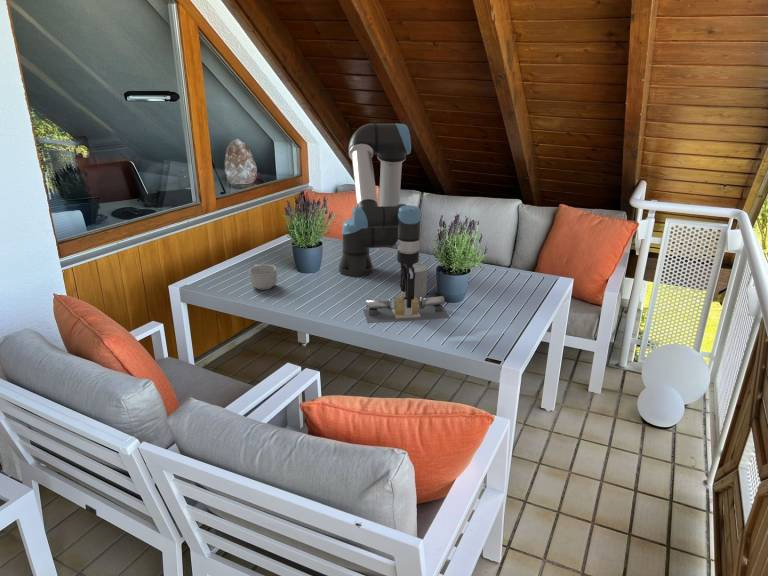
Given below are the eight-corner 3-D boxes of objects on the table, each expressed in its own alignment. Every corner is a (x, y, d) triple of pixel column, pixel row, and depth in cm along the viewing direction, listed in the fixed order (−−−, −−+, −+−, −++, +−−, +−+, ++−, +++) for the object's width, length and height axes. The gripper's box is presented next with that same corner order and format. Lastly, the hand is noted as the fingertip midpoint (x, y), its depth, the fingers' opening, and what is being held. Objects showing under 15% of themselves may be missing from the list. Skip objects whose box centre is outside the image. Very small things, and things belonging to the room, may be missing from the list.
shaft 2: (439, 306, 216) (440, 292, 214) (444, 311, 213) (445, 296, 210) (417, 309, 213) (418, 295, 211) (422, 314, 210) (423, 299, 208)
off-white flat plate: (392, 310, 212) (392, 309, 212) (416, 309, 214) (416, 307, 214) (395, 318, 206) (395, 316, 206) (420, 316, 207) (420, 315, 207)
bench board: (363, 312, 213) (363, 309, 213) (441, 307, 218) (441, 304, 218) (367, 326, 202) (367, 323, 202) (450, 321, 207) (450, 318, 207)
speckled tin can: (398, 294, 230) (399, 265, 226) (420, 291, 234) (421, 262, 229) (407, 303, 222) (408, 273, 218) (430, 299, 225) (431, 270, 221)
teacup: (279, 290, 232) (278, 271, 230) (252, 293, 229) (251, 274, 226) (272, 278, 244) (271, 260, 242) (247, 281, 241) (245, 263, 238)
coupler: (415, 309, 212) (415, 296, 210) (417, 314, 208) (418, 301, 206) (393, 309, 211) (394, 297, 210) (395, 315, 207) (396, 302, 205)
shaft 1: (366, 315, 208) (366, 301, 206) (366, 310, 212) (366, 296, 210) (391, 315, 208) (391, 301, 206) (390, 310, 212) (391, 296, 210)
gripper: (392, 243, 209) (391, 302, 217) (402, 259, 192) (401, 322, 200) (413, 242, 210) (411, 301, 218) (424, 258, 193) (422, 321, 201)
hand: (406, 311), depth 209 cm, fingers open, 5 cm apart
